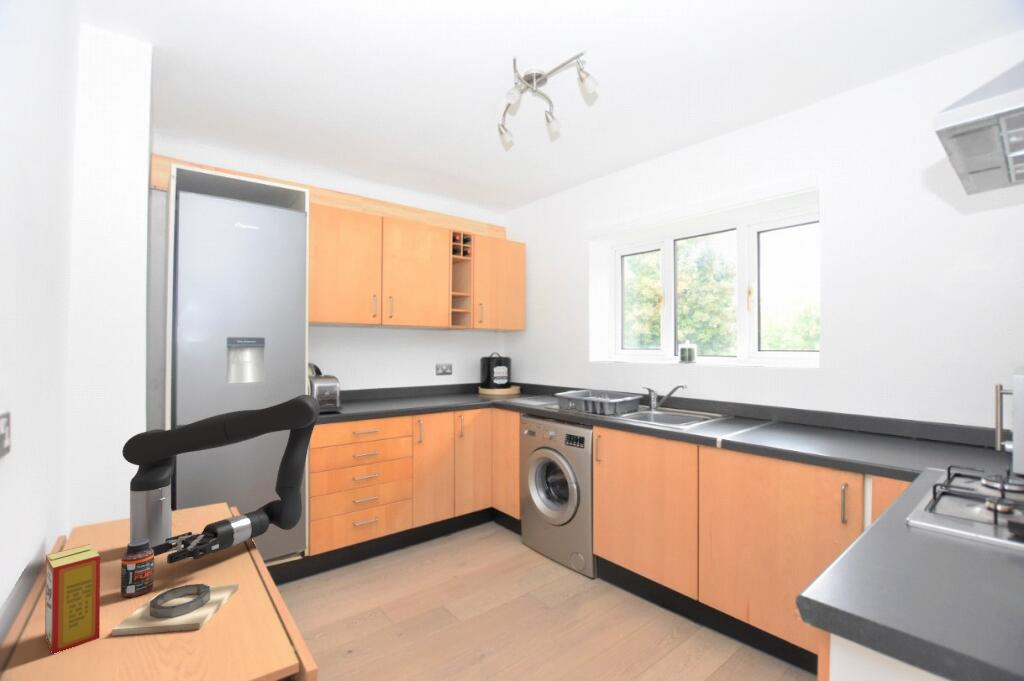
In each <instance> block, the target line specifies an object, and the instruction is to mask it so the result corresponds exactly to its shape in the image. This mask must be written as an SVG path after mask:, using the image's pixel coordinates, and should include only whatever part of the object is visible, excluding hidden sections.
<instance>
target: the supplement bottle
mask: <svg viewBox="0 0 1024 681" xmlns="http://www.w3.org/2000/svg"><path fill="white" fill-rule="evenodd" d="M126 548H127V549H126V550H127V551H126V552H125V553H124V554H123V555H122V557H121V568H120V569H121V570H120V571H121V572H120V595H121V596H122V597H124V598H134V597H139V596H142V595H145V594H147V593H149V592H150V591H151V590H153V588H154V579H155V556H154V550H153V549H151V548H149V540H147V539H144V540H137V541H133V542H131V543H130V542H129V543H128V544H127V546H126Z"/></svg>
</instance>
